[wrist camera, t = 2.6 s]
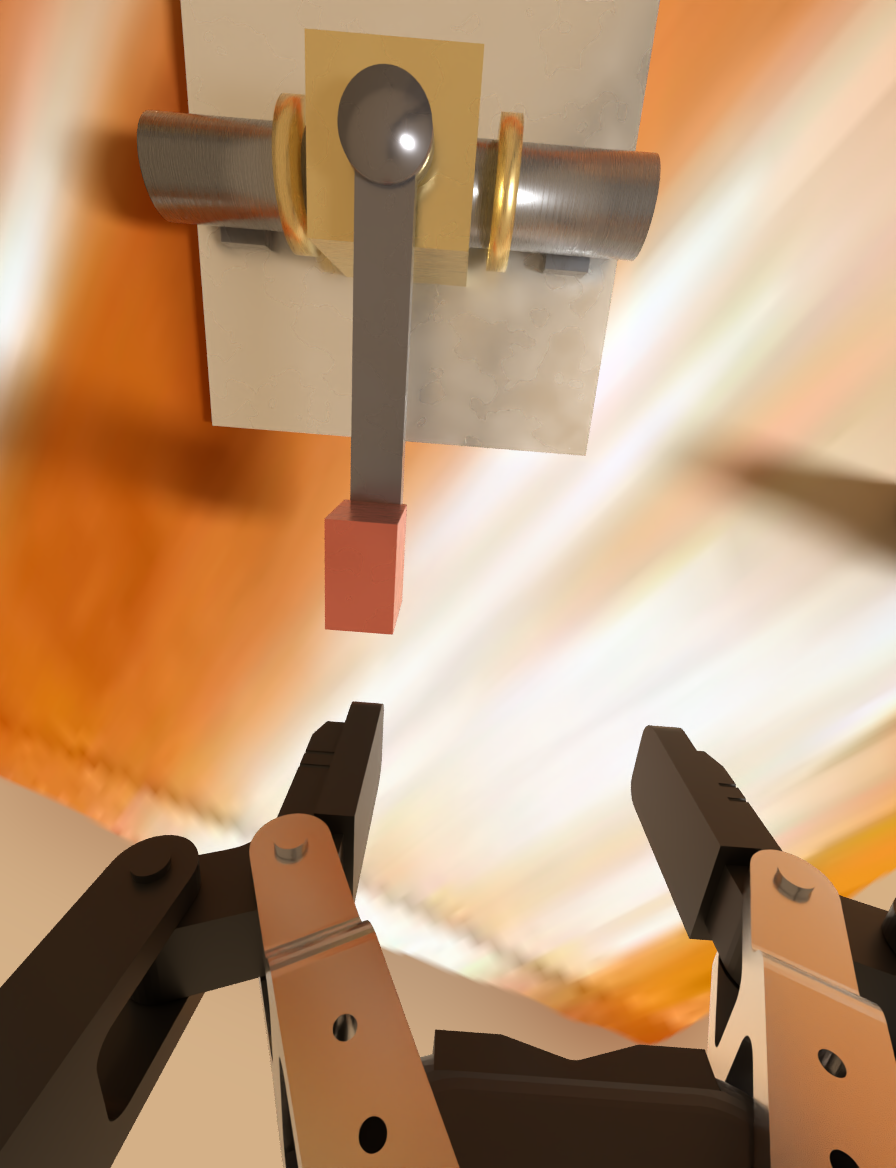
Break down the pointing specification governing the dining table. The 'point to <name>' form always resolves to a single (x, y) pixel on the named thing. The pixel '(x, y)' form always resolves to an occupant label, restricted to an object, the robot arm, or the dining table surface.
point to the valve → (443, 210)
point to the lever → (378, 344)
